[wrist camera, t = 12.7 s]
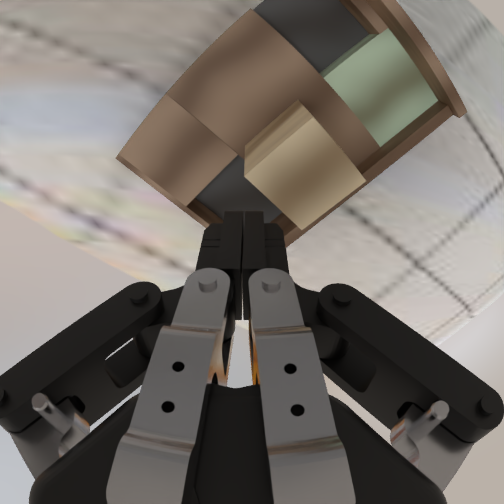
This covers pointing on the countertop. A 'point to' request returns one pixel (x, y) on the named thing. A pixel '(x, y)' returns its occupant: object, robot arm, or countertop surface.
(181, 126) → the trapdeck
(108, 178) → the countertop surface
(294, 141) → the block
